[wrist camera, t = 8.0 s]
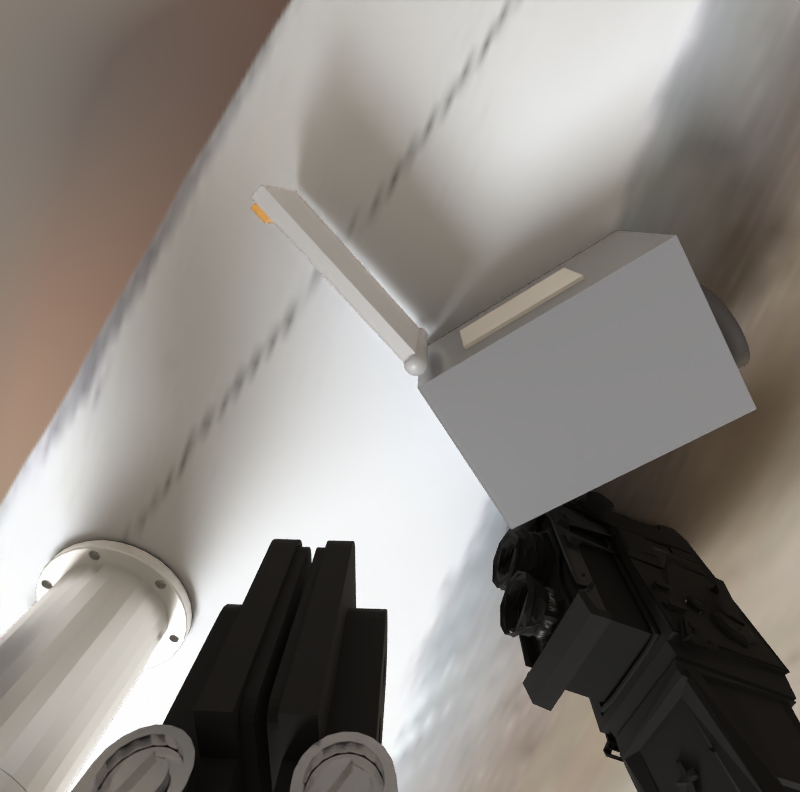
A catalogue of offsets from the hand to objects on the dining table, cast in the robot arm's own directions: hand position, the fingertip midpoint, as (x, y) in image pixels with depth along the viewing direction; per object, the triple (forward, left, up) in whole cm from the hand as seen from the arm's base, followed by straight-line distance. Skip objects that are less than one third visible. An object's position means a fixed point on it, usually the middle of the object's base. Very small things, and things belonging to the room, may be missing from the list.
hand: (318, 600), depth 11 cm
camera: (+3, -21, -25) cm, 32 cm away
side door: (0, +5, -24) cm, 24 cm away
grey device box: (+8, -7, -25) cm, 27 cm away
